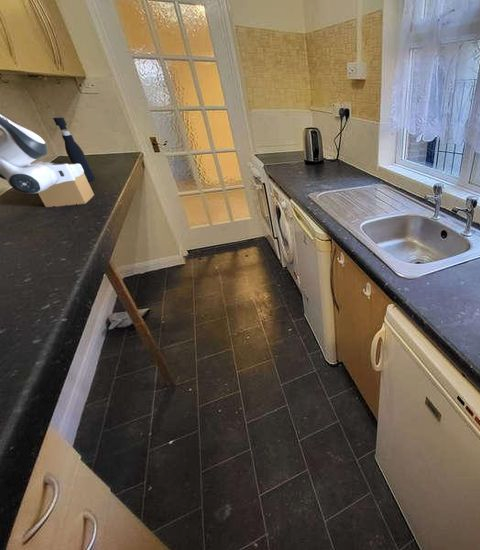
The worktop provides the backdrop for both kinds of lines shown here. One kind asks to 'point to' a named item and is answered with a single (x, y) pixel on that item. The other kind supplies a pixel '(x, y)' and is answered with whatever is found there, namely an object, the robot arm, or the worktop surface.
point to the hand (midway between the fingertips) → (56, 167)
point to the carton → (68, 193)
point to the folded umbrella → (74, 150)
